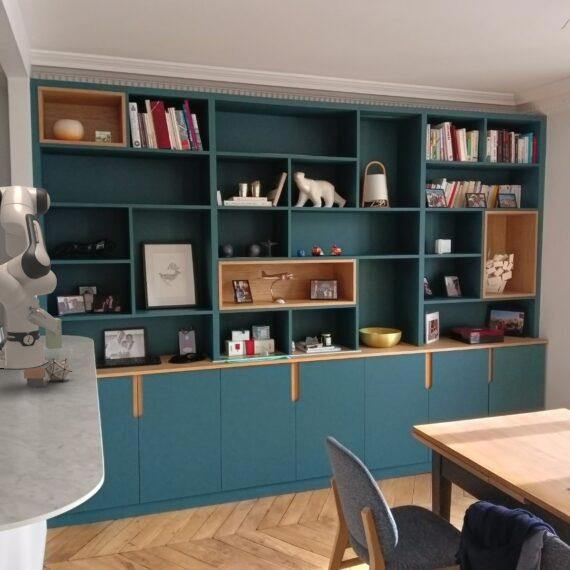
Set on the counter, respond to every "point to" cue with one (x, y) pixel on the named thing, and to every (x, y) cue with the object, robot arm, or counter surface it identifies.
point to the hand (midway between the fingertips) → (55, 332)
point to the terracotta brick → (34, 373)
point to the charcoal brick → (35, 382)
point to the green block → (54, 337)
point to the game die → (58, 370)
